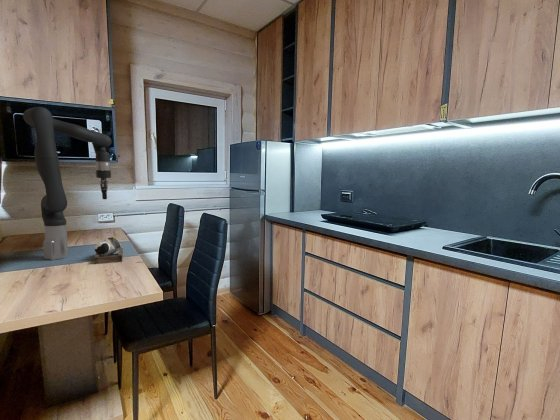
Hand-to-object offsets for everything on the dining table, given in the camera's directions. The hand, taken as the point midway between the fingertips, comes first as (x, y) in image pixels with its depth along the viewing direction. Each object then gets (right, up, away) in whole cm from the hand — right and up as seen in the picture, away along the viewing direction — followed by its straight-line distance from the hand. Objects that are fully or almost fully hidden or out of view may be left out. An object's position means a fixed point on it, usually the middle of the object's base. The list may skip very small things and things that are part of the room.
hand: (104, 199), depth 175 cm
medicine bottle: (+12, -26, -11) cm, 31 cm away
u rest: (+13, -32, -18) cm, 39 cm away
